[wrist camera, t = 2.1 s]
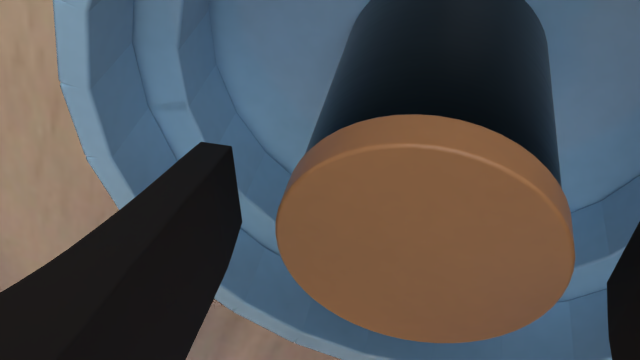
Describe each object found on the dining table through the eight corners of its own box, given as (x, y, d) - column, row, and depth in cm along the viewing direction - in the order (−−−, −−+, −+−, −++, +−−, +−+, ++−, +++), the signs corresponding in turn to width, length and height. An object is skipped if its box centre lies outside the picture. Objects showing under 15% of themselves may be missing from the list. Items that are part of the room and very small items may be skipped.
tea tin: (602, 46, 13) (651, 260, 9) (459, 172, 17) (442, 373, 12) (421, -83, 12) (374, 84, 8) (308, 78, 16) (230, 260, 11)
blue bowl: (1028, -11, 11) (1236, 136, 8) (482, 317, 22) (478, 439, 18) (344, -639, 8) (240, -805, 5) (89, 95, 19) (3, 195, 15)
